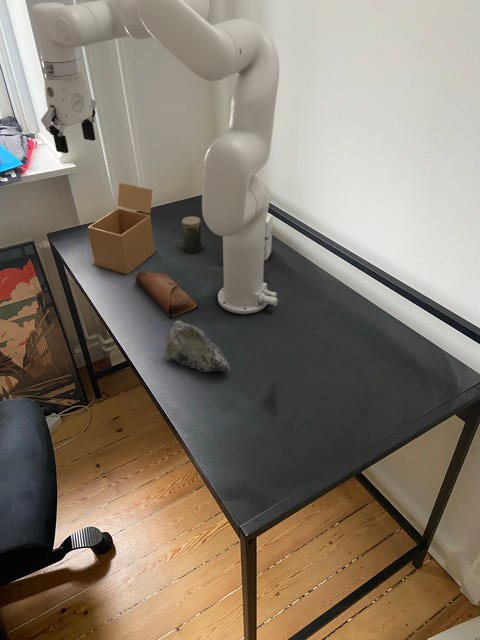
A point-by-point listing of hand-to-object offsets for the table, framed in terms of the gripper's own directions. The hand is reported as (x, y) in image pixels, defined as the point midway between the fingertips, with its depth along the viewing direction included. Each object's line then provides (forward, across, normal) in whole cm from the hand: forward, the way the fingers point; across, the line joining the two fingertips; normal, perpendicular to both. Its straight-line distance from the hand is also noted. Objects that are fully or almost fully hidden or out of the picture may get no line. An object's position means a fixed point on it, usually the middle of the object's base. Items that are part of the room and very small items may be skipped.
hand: (76, 145), depth 125 cm
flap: (+16, +10, -7) cm, 21 cm away
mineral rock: (+31, -26, -47) cm, 62 cm away
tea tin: (+31, +16, -21) cm, 41 cm away
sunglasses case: (+31, -7, -27) cm, 42 cm away
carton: (+31, +3, -7) cm, 32 cm away
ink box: (+31, +21, -38) cm, 54 cm away
